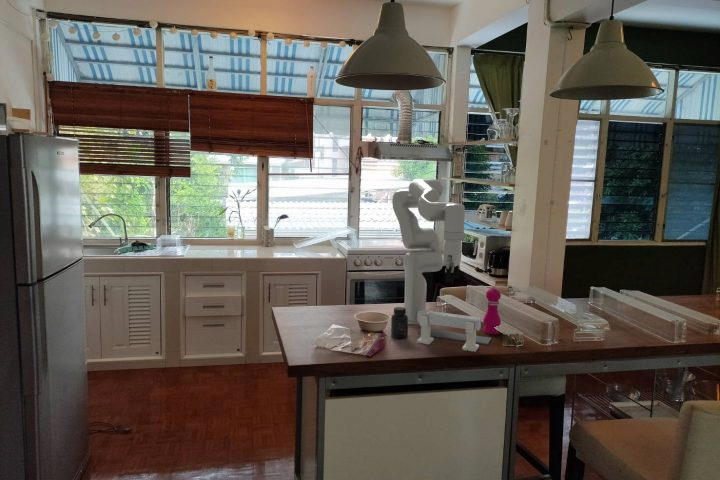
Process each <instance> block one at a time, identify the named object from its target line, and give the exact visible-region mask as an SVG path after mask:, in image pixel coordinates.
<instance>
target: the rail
mask: <svg viewBox="0 0 720 480" xmlns="http://www.w3.org/2000/svg"><path fill="white" fill-rule="evenodd" d="M420 316H428V324H431V325H435V326H437V325H438V326H442V327H448V328H456V329H462V330H466V322H472V323H474V330H476V332H477V331H478V332H479V331H480V330H481V328H482V327H481V326H482V317H478V316H471V315H463V314H455V313H447V312H440V311H433V310H427V309H426V310H420V311H418V314H417V322H420Z"/></svg>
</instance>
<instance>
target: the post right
mask: <svg viewBox="0 0 720 480" xmlns="http://www.w3.org/2000/svg"><path fill="white" fill-rule="evenodd" d="M465 334H466V342H464V345H463V346H461V347H462V349H461V350H462V351H467V350H468V352H473V351H474V352H475V353H476V352H477V351H478V349H479V348H480V344H477V343H476V336H477V330H474V323H472V322H466V329H465Z"/></svg>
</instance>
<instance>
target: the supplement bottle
mask: <svg viewBox="0 0 720 480" xmlns="http://www.w3.org/2000/svg"><path fill="white" fill-rule="evenodd" d="M405 313H406V308H404V306H397V307H394V308H393V314H392V315H391V318H390V319H391V320H390V322H391V324H390V337H391V339H394V340H399V341H401V340H402V341H403V340H406V339H408V338H409V324H408V316H407V315H406V314H405Z"/></svg>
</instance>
